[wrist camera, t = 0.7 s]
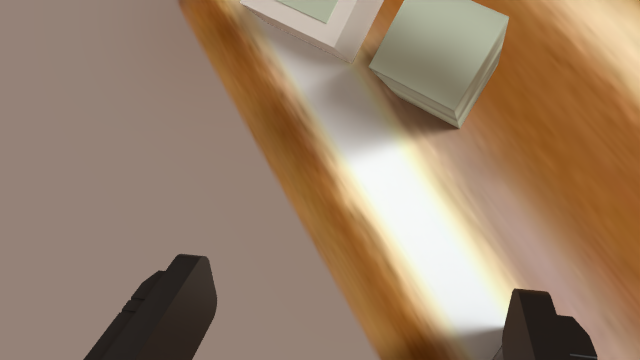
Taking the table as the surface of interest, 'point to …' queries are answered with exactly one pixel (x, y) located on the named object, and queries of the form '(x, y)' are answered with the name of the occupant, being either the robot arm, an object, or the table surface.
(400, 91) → the sage pillar
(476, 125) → the table surface
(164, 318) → the robot arm
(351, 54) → the cream base block
